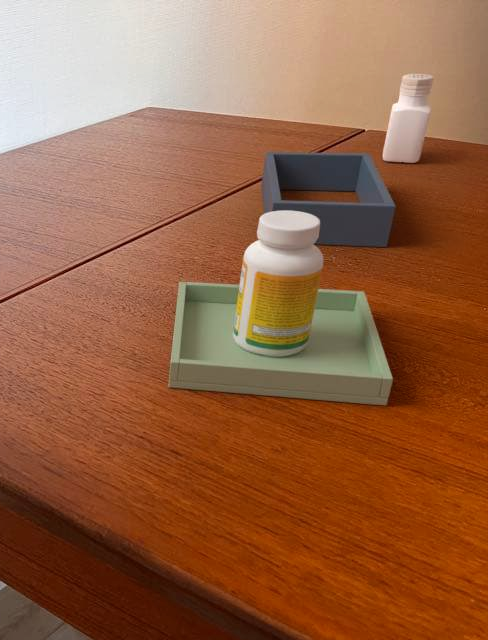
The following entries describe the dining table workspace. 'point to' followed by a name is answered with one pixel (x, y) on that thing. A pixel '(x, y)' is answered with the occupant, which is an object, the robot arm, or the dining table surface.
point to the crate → (332, 175)
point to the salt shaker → (408, 120)
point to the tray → (279, 372)
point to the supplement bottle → (279, 285)
